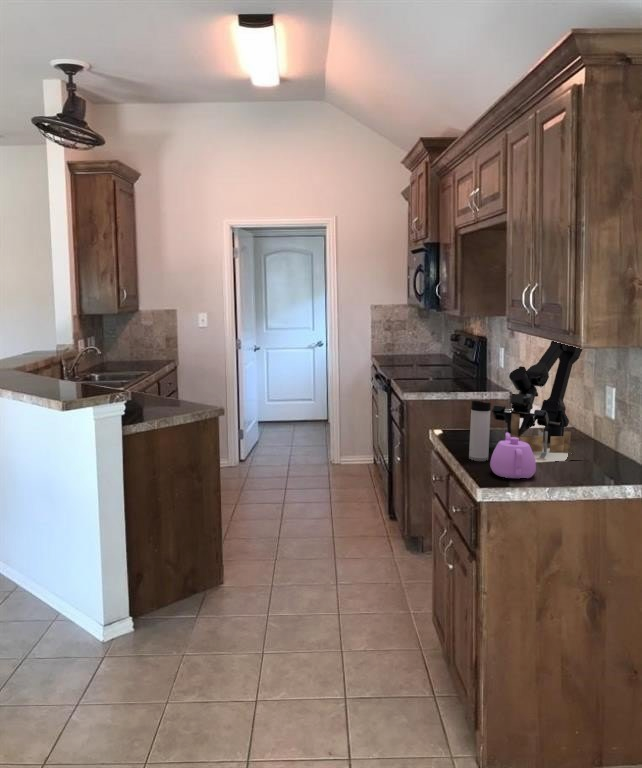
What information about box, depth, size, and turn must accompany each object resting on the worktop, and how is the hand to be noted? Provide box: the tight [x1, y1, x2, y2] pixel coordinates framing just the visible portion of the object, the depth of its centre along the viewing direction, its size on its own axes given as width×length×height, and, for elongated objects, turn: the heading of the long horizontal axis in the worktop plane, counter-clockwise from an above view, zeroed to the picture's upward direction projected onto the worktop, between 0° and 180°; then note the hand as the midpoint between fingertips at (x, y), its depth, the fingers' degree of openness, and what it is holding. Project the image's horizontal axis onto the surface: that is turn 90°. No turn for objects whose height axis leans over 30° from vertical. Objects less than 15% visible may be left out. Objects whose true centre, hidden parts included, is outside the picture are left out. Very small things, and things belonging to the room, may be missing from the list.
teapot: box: [489, 431, 537, 479], centre depth 219 cm, size 20×13×12 cm, turn 177°
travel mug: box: [468, 400, 492, 462], centre depth 238 cm, size 6×7×20 cm
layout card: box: [533, 447, 568, 464], centre depth 247 cm, size 21×18×1 cm
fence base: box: [543, 430, 572, 453], centre depth 250 cm, size 9×3×8 cm, turn 104°
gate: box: [510, 413, 544, 452], centre depth 248 cm, size 12×3×13 cm, turn 103°
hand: (513, 434), depth 245 cm, fingers open, 3 cm apart
